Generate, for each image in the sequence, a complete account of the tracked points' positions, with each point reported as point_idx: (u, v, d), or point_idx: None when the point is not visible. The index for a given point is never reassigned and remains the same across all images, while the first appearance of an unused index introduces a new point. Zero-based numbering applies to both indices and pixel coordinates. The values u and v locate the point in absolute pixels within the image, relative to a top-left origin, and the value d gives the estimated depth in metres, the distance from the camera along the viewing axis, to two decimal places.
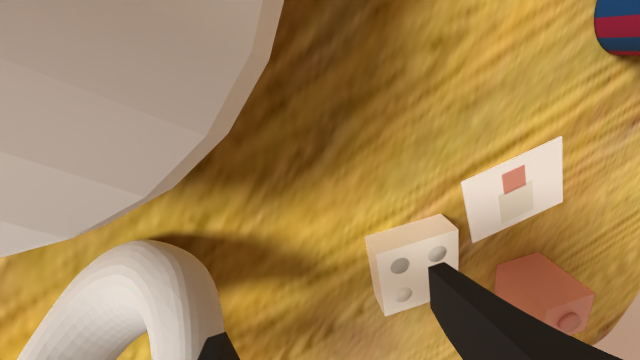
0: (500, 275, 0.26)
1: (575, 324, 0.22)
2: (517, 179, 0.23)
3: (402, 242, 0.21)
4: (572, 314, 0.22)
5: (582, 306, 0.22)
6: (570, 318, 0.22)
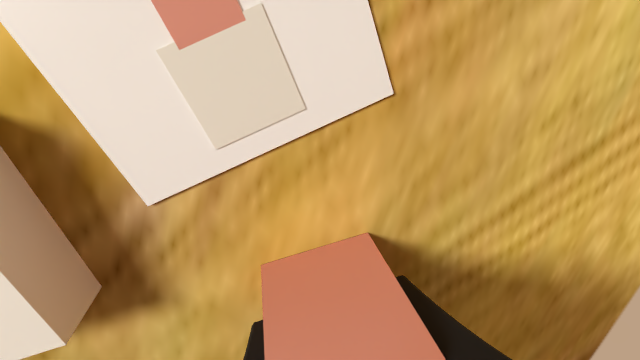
0: None
1: None
2: None
3: None
4: None
5: None
6: None
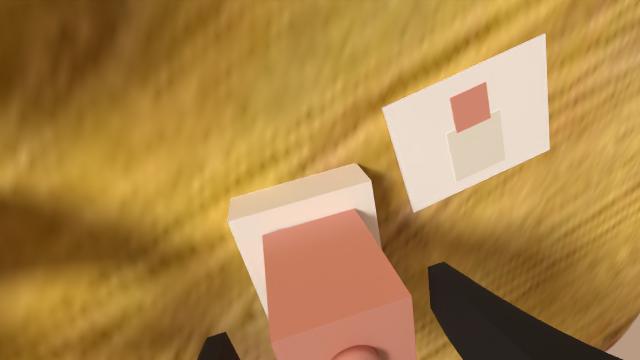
0: None
1: None
2: (477, 107, 0.14)
3: (278, 202, 0.12)
4: (356, 350, 0.09)
5: (385, 329, 0.09)
6: None
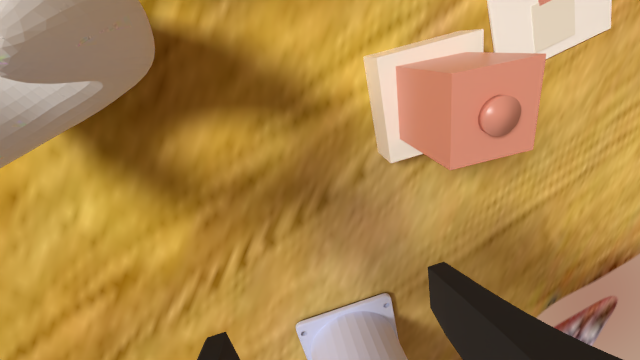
0: (401, 81, 0.16)
1: (509, 117, 0.12)
2: None
3: (411, 47, 0.16)
4: (503, 95, 0.12)
5: (523, 83, 0.12)
6: (498, 98, 0.12)
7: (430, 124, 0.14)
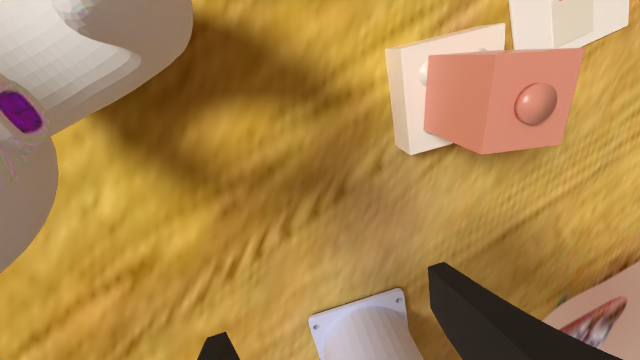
0: (433, 70, 0.16)
1: (545, 106, 0.12)
2: None
3: (434, 39, 0.16)
4: (542, 83, 0.12)
5: (560, 75, 0.12)
6: (537, 85, 0.12)
7: (463, 110, 0.14)
